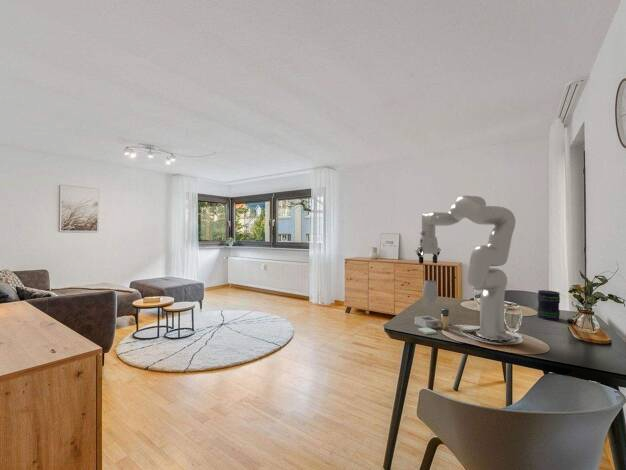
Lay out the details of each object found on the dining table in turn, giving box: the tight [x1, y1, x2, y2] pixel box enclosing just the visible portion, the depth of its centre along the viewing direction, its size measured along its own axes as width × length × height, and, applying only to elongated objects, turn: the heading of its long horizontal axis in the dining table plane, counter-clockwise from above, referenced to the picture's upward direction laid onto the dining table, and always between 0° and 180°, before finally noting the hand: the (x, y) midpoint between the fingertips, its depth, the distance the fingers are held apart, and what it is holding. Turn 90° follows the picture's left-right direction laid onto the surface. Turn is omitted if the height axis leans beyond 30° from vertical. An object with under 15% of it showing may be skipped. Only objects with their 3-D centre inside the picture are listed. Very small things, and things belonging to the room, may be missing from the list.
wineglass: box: [422, 279, 438, 317], centre depth 167 cm, size 8×8×21 cm
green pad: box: [417, 327, 437, 335], centre depth 145 cm, size 6×6×1 cm
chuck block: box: [414, 315, 441, 329], centre depth 157 cm, size 12×9×4 cm
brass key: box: [440, 307, 450, 331], centre depth 149 cm, size 4×4×10 cm
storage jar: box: [537, 289, 561, 322], centre depth 171 cm, size 10×10×15 cm
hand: (428, 263), depth 179 cm, fingers open, 9 cm apart
